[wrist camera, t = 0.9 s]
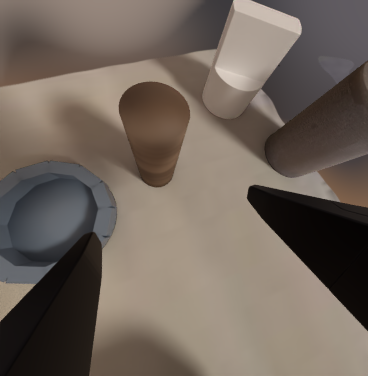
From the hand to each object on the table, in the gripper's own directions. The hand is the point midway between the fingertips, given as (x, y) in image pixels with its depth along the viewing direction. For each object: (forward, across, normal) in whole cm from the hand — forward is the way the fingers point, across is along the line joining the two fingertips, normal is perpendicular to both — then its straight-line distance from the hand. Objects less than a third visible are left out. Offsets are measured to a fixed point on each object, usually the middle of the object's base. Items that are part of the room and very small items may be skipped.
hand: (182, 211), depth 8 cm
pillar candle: (+13, -25, +5) cm, 29 cm away
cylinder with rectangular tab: (+23, -17, -5) cm, 29 cm away
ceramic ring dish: (+12, +13, +6) cm, 19 cm away
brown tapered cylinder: (+15, 0, +4) cm, 15 cm away
